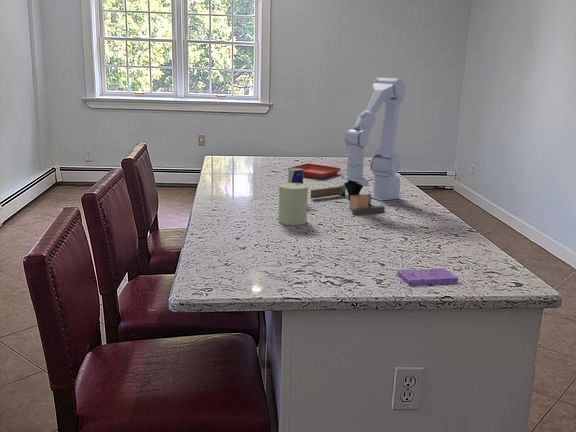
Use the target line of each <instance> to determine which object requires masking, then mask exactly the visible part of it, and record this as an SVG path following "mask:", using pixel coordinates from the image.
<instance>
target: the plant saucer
mask: <svg viewBox="0 0 576 432" xmlns="http://www.w3.org/2000/svg"><path fill="white" fill-rule="evenodd" d="M290 168H301V169H303V178H310V179H311V178H312V179H317V180H322V179H325V178H329V177H332V176H335V175H337V174H338V173H339V172H340V171H341V170H342V168H341V167H336V166H329V165H323V164H315V163H310V162H309V163H308V162H307V163H303V164H299V165H296V166H292V167H288V168H287V170H288V171H289V169H290Z"/></svg>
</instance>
